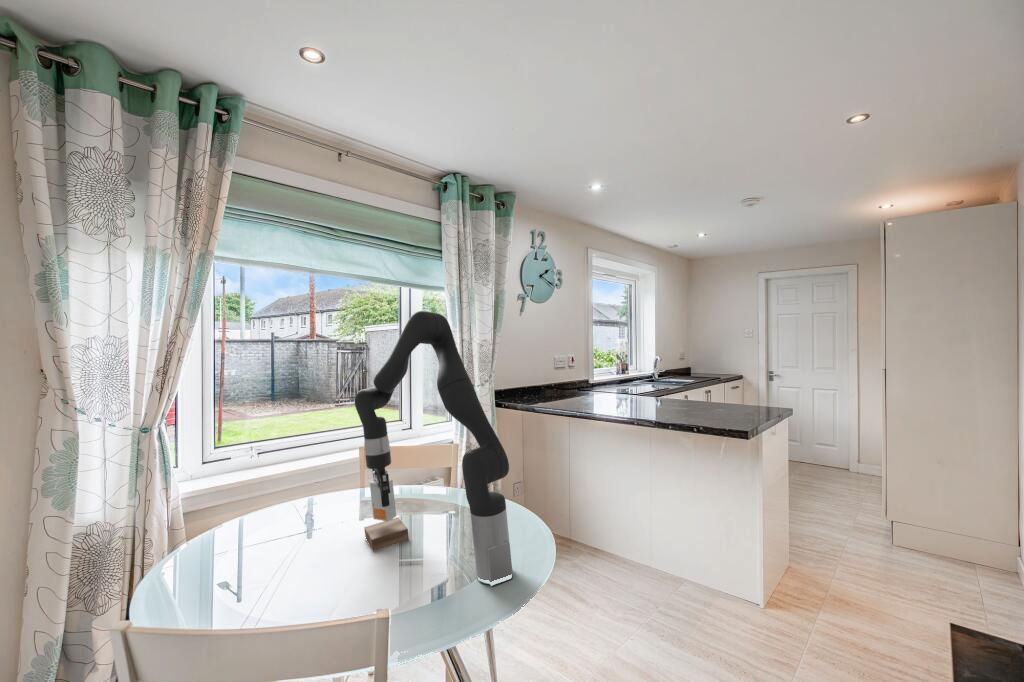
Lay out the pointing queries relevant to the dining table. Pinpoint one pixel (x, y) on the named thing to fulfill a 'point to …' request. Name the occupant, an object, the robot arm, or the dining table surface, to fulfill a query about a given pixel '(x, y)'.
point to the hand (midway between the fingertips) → (383, 502)
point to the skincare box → (378, 509)
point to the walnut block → (386, 534)
